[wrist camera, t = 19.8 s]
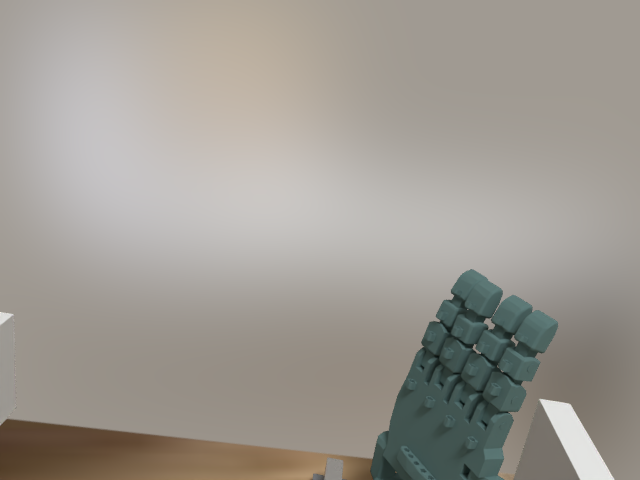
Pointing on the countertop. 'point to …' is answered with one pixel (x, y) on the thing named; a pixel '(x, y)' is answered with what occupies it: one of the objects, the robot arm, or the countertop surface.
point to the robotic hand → (463, 387)
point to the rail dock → (331, 470)
